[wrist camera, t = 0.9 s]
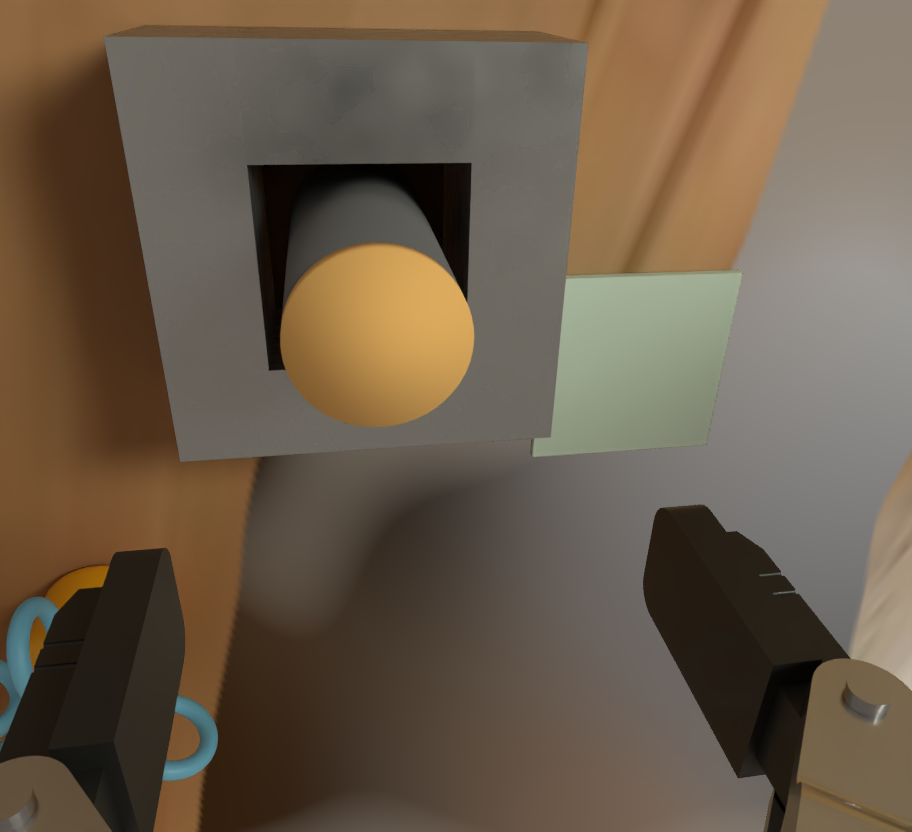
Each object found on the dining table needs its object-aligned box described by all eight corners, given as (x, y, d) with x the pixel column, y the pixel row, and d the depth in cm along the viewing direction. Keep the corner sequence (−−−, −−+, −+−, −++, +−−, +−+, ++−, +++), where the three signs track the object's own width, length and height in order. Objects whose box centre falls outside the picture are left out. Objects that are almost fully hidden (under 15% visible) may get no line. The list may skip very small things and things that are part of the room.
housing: (538, 31, 29) (588, 42, 24) (516, 371, 36) (550, 437, 30) (143, 25, 27) (104, 36, 22) (200, 387, 33) (180, 461, 28)
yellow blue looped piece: (-55, 532, 35) (-268, 855, 22) (179, 490, 36) (105, 777, 23) (46, 712, 41) (-74, 1047, 28) (244, 672, 42) (214, 980, 29)
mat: (738, 269, 35) (742, 272, 35) (702, 441, 39) (706, 445, 39) (544, 276, 34) (547, 279, 33) (530, 452, 38) (532, 456, 38)
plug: (420, 155, 30) (477, 246, 20) (420, 282, 33) (471, 421, 22) (285, 156, 29) (271, 252, 19) (295, 286, 32) (288, 432, 22)
